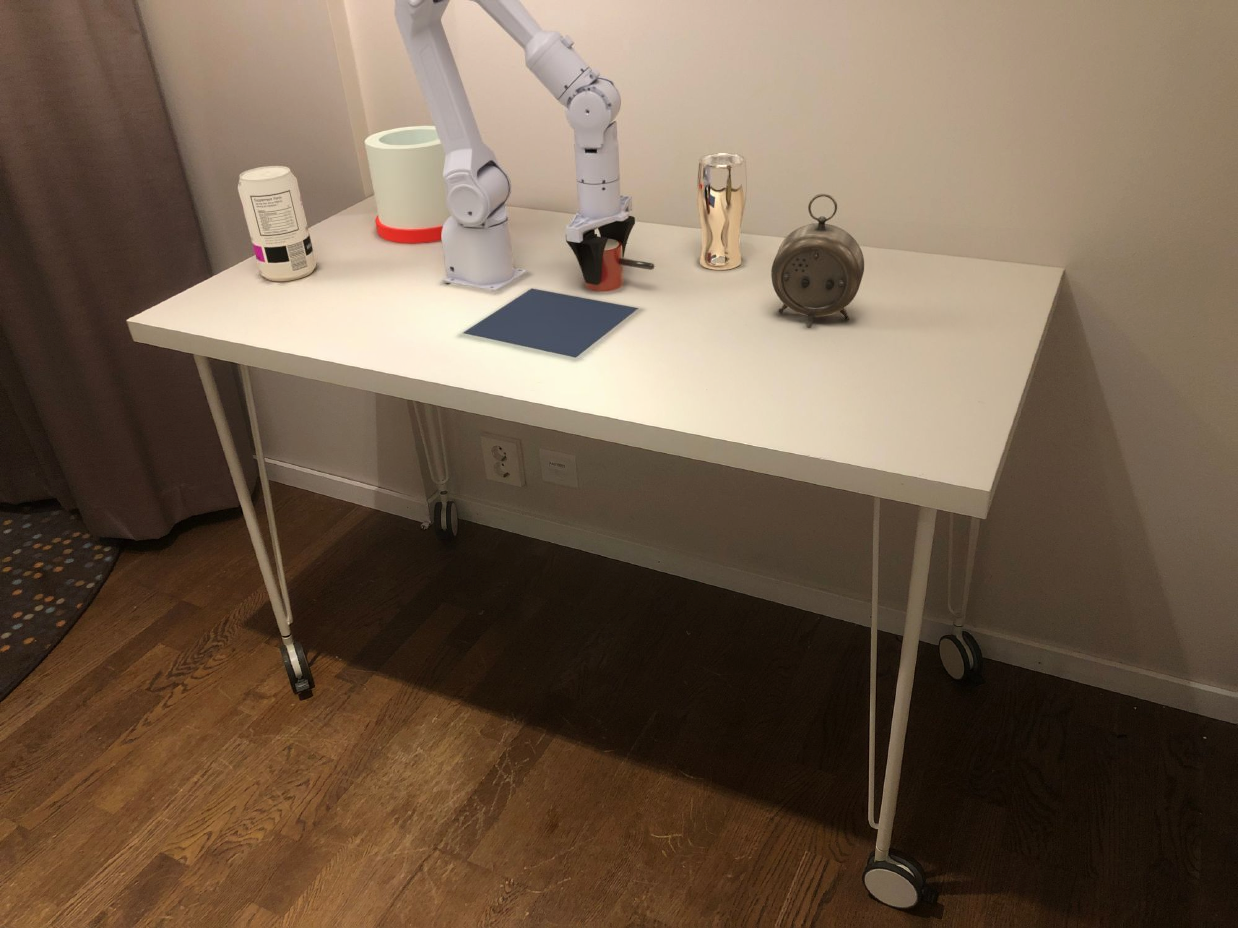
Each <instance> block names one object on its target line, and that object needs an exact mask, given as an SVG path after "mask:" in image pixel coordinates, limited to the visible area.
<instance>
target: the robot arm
mask: <svg viewBox="0 0 1238 928" xmlns="http://www.w3.org/2000/svg"><path fill="white" fill-rule="evenodd" d="M469 1H470V2H475V3H476V4H477V5H478V6H480V7H481V9H483V11H485V12H486V14H487V15H488V16H490V17H491V18H492V20H494V21H495V23H497V25H499V26H500V28H502V29H503V30H504V32H505V33H506V34H508V35H509V36H510V37H511V38H512V39H513V40H514V42H516V43H517V44H518V45H519V46H520V47H521V48H522V49H523V52H524V61H525V67H526V68H527V69H529V71H530V72H531V73H532V74H533V75H534V76H535V78H536V79H537V80H538V81H539V82H540V83H541V84H542V85H543V86H544V87H545V89H547V91H548V92H549V93H550V94H551V95H552V96H553V97H554V98H555V100H557V101H558V103H559V104H560V105H562V106H563V107H565V108H566V110H564V114H565V118H566V120H567V123H568V124H569V127H571V129H572V130H573V137H574V160H575V173H576V191H577V205H578V207H577V208H578V211H577V212H576V214H575V215H574V217H573V218H572V220H571V222H569V224H567V225H566V226H565V242H566V243H567V245H568V246H569V247H570V249H571V250H572V252H573V254H574V256H575V258H576V259H577V263H578V265H579V267H580V270H581V273H582V274H581V275H582V277H583V280H584V283H585V282H586V283H588V284H594V285H599V284H600V282H601V277H602V259H603V253H604V249H605V245H606V243H607V240H608V238H610V239H616V240H618V241H620V242H621V243H622V257H623V259H625V252H626V249H627V243H628V240H629V237H630V234H631V232H632V230H633V228H634V226H635V224H636V217H635V216H633V215H629V212H631V211H633V197H632V196H629V195H623V194H622V195H621V178H620V152H619V151H620V150H619V140H618V124H617V120H615V119H616V118H617V117H618V115H619V112H620V111H621V106H622V98H621V94H620V91H619V89H618V88H617V87H616V85H615V83H614V81H613V80H612V79H611V78H609V77H606V76H603V75H601V73H600V71H599V70H598V69H597V67H594V68H592V67H591V66H590V65H589V64H588V63H587V62H586V61H585V59H583V57H582V56H581V55H580V54H579V53H578V52H577V50H575V48H574V47H573V45H574V44H575V41H574V39H572V38H571V37H570V36H569V34H566V35H565V36H563V35H562V34H561V33H560V32H559V31H557V30H545V29H544V28H543V27H542V26H541V24H539V22H538V21H537V20H536V19H535V18H534V16H533V15H532V13H530V12H529V9H527V8H526V7H525V5H524V4H523V3H522V2H521V1H520V0H469ZM449 2H451V0H394V18H395V22H396V25H397V28H398V30H399V33H400V35H401V38H402V41H403V44H404V47H405V49H406V53H407V55H408V57H409V60H410V63H411V65H412V68H413V71H414V74H415V76H416V79H417V82H418V85H419V88H420V91H421V93H422V96H423V98H424V100H425V104H426V106H427V109H428V113H429V115H430V118H431V120H432V123H433V126H435V128H436V131H437V134H438V137H439V139H440V142H441V145H442V147H443V150H444V153H445V163H444V169H443V179H444V182H445V185H446V205H447V208H448V211H449V212H450V214H451V215H452V216H451V217H449V218H448V219H447V220H446V222H445V223H444V225H443V229H442V235H441V240H440V241H441V247H442V253H443V260H444V267H445V275H446V277H444V278H443V282H444V283H446V284H452V285H457V286H461V287H462V286H463V287H468V288H473V289H479V290H483V291H489V292H495V293H496V292H498V291H500V290H502V289H504V288H505V287H506V286H508V285H510V284H512V283H514V282H515V281H517V280H518V279H519V278H522V277H523V276H524V275H526V274H527V273H528V272H527V270H526V269H523V268H518V267H517V268H516V267H514V259H513V249H512V241H511V240H512V239H511V231H510V222H509V213H508V210H507V207H506V202H507V201H508V200H509V198H510V196H511V193H512V181H511V178H510V176H509V174H508V173H507V171H506V170H505V169H504V168H503V167H502V166H501V164H500V163H499V161H498V159H497V156H496V154H495V152H494V150H492V149H491V148H490V147H489V146H488V145H487V144H486V143H484V141H483V139H482V135H481V133H480V130H479V127H478V123H477V121H476V119H475V116H474V112H473V110H472V107H471V104H470V101H469V98H468V95H467V92H466V90H465V86H464V83H463V81H462V77H461V75H460V73H459V69H458V66H457V63H456V61H455V58H454V57H455V56H454V55H453V52H452V49H451V46H450V43H449V40H448V36H447V34H446V32H445V29H444V25H443V23H442V17H443V16H444V13H445V11H446V9H447V7H448V5H449ZM597 229H598V233H599V236H598V233H596V231H595V230H597Z"/></svg>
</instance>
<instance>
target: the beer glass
mask: <svg viewBox="0 0 1238 928" xmlns="http://www.w3.org/2000/svg"><path fill="white" fill-rule="evenodd" d="M747 176H748V175H747V158H746V157H745V156H744V155H743V154H739V153H733V152H716V153H708V154H704V155H702V156H701V157H699V158H698V167H697V178H696V179H697V180H696V202H697V209H698V216H699V221H700V227H701V234H702V235H701V236H702V245H701V251H700V257H699V264H700V266H701V267H703V268H705V269H709V270H714V271H727V270H732V269H735V268H738V267H739V266H740V265H741V264H742V254H741V249H740V247H741V246H740V233H741V228H742V222H743V218H744V214H745V209H746V201H747V193H748V192H747V191H748V190H747V189H748V178H747Z"/></svg>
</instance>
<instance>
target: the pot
mask: <svg viewBox="0 0 1238 928" xmlns="http://www.w3.org/2000/svg"><path fill="white" fill-rule="evenodd" d="M624 266H625V267H631V268H637V269H642V270H643V269H644V270H648V271H649V270H650V271H652V270H654V269H655V264H654V263H653V262H647V261H642V260H636V259H628V258H623V257H622V243H621V242H620V241H618V240H616V239H610V238H608V240H607V243H606V245H605V249H604V253H603V259H602V277H601V282H600V284H599V285H594V284H588V283H586V282H585V281H584V285H585V288H586V289H588V290H590V291H593V292H612V291H615V290H618V289H620V288H622V287H623V286H624Z"/></svg>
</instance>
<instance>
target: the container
mask: <svg viewBox="0 0 1238 928" xmlns="http://www.w3.org/2000/svg"><path fill="white" fill-rule="evenodd" d="M364 147H365V152H366V157H367V164H368V168H369V173H370V178H371V185H372V190H373V195H374V201H375V207H376V212H377V215H376V217H375V219H374V221H375V227H376V232H377V234H378V236H379V237H380V238H382V239H384V240H385V241H389V242H394V243H398V244H423V243H424V244H426V243H427V244H428V243H433V242H439V241H442V240H441V235H442V229H443V225H444V223H445V222H446V220H447V219H448V218H449V217H451V216H452V215H451V214H450V212H449V211H448V208H447V205H446V185H445V182H444V179H443V169H444V163H445V153H444V150H443V147H442V145H441V142H440V139H439V137H438V134H437V131H436V128H435V126H434V125H415V126H414V125H413V126H404V127H396V128H391V129H387V130H382V131H379V132H376V133H372V134H371V135H369V136H367V137H366V138H365V140H364Z"/></svg>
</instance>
